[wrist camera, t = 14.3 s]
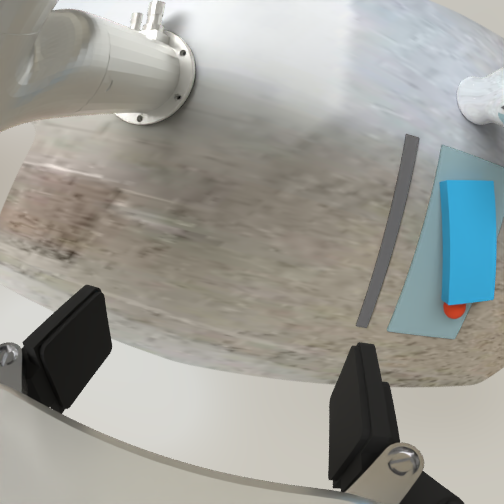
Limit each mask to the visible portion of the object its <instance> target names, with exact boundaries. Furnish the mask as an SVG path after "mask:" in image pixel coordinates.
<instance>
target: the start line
mask: <svg viewBox="0 0 504 504" xmlns="http://www.w3.org/2000/svg"><path fill="white" fill-rule="evenodd" d="M418 142H419V137H415V136H412V135H408V134H406V137H405V143H404V148H403V154H402V159H401V164H400V169H399V174H398V179H397V183H396V188H395V192H394V197H393V201H392V205H391V209H390V213H389V217H388V221H387V225H386V229H385V233H384V237H383V240H382V244H381V247H380V251H379V255H378V258H377V261H376V265H375V268H374V271H373V275H372V278H371V281H370V284H369V288H368V291H367V294H366V297H365V300H364V303H363V306H362V309H361V312H360V315H359V317H358V320H357V323H356V326H357V327H364V328H367V326H368V323H369V320H370V318H371V315H372V312H373V309H374V307H375V304H376V301H377V298H378V295H379V292H380V289H381V286H382V283H383V280H384V277H385V274H386V271H387V268H388V265H389V261H390V258H391V255H392V251H393V248H394V244H395V241H396V237H397V234H398V230H399V226H400V223H401V219H402V215H403V211H404V207H405V203H406V199H407V195H408V190H409V186H410V182H411V177H412V172H413V168H414V163H415V158H416V152H417V147H418Z"/></svg>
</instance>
